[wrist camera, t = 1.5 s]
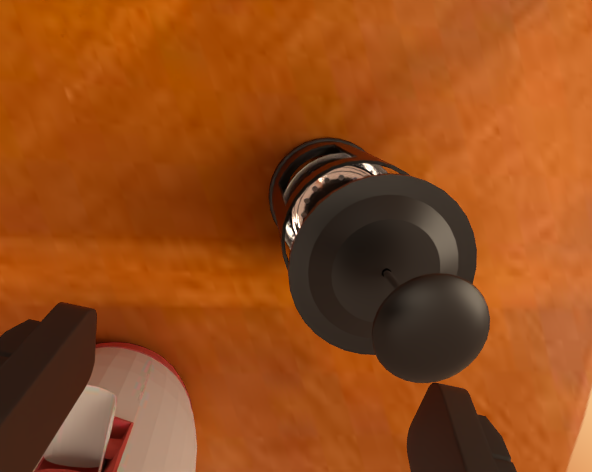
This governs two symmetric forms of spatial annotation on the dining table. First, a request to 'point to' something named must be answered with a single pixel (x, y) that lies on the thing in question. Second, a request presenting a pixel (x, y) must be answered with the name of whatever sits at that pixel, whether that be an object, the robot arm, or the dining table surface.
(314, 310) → the french press
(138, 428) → the citrus juicer
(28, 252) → the dining table surface
